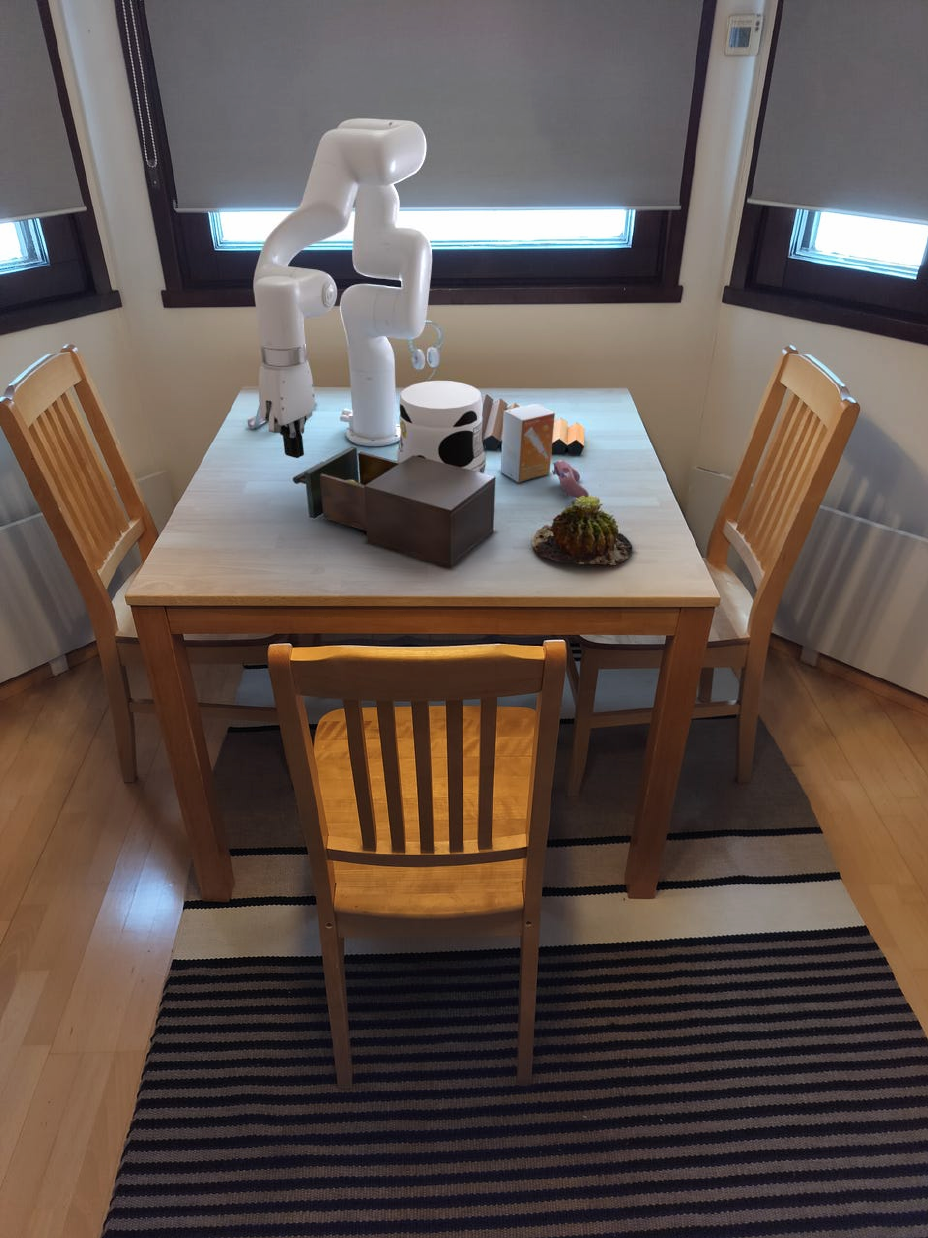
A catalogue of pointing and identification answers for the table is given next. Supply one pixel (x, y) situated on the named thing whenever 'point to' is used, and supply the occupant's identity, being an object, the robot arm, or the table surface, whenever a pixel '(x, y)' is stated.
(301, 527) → the table surface
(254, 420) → the tablet stand
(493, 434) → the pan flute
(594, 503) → the cactus
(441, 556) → the cabinet
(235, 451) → the table surface
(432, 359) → the headphones
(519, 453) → the small box
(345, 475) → the drawer
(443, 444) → the milk container
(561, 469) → the video game controller
